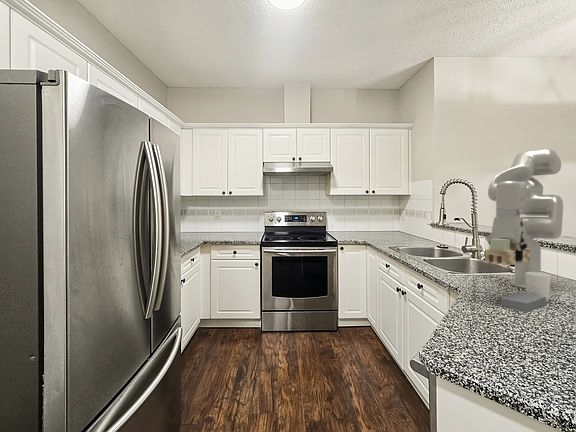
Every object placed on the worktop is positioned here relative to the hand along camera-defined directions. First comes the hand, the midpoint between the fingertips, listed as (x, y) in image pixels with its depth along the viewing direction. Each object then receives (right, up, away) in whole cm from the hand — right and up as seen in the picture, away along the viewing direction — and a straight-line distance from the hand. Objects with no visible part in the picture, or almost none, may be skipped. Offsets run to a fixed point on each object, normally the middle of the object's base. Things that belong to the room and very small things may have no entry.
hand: (507, 259), depth 124 cm
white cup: (+13, -16, +2) cm, 21 cm away
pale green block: (-5, +4, -3) cm, 7 cm away
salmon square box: (+5, +4, +3) cm, 7 cm away
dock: (+2, -16, -6) cm, 17 cm away
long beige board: (0, -1, 0) cm, 1 cm away
